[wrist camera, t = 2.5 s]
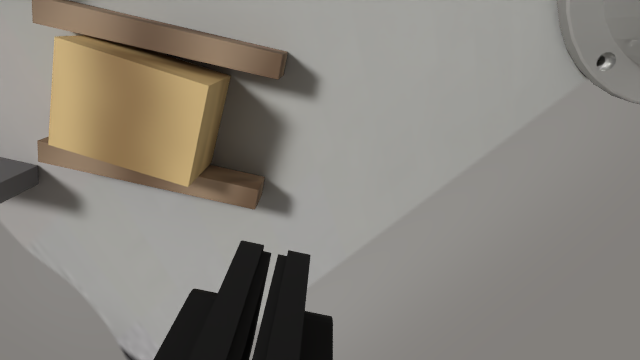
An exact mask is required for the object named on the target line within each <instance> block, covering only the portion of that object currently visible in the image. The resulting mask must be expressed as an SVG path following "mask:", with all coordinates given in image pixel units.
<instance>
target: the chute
mask: <svg viewBox="0 0 640 360" xmlns="http://www.w3.org/2000/svg"><path fill="white" fill-rule="evenodd" d="M32 15H33V23H36V24H41V25H45V26H49V27H54V28H58V29H62V30H67V31H71V32H75V33H79V34H84V35H88V36H92V37H97V38H101V39H105V40H110V41H114V42H118V43H123V44H127V45H131V46H135V47H140V48H144V49H148V50H153V51H157V52H161V53H166V54H170V55H174V56H178V57H183V58H187V59H191V60H196V61H200V62H204V63H209V64H213V65H217V66H222V67H226V68H230V69H234V70H239V71H243V72H247V73H252V74H256V75H260V76H265V77H269V78H273V79H277V80H278V79H279V78H281V77H282V76H283V75H284V70H285V64H286V59H287V53H288V52H286V51H281V50H277V49H273V48H269V47H264V46H260V45H256V44H252V43H247V42H243V41H239V40H235V39H230V38H226V37H222V36H218V35H213V34H209V33H205V32H201V31H196V30H192V29H188V28H184V27H179V26H175V25H171V24H166V23H162V22H158V21H154V20H149V19H145V18H141V17H137V16H132V15H128V14H124V13H120V12H115V11H111V10H107V9H103V8H98V7H94V6H90V5H86V4H81V3H77V2H73V1H69V0H32ZM48 141H49V137H46V138H43V139H41V140H38V162H42V163H47V164H52V165H56V166H61V167H65V168H70V169H74V170H79V171H83V172H88V173H92V174H97V175H101V176H106V177H110V178H115V179H119V180H124V181H128V182H133V183H137V184H142V185H146V186H151V187H155V188H160V189H165V190H169V191H174V192H178V193H183V194H187V195H192V196H196V197H201V198H205V199H210V200H214V201H219V202H223V203H228V204H232V205H237V206H241V207H246V208H250V209H255V208H256V206H257V204H258V202H259V200H260V197H261V195H262V190H263V185H264V179H265V177H263V176H258V175H254V174H249V173H245V172H240V171H236V170H231V169H227V168H222V167H218V166H214V165H209V166H208V167H207V168H206V169H205V170H204V171H203V172H202V173H201V174H200V175H199V176H198V177H197V178H196V179H195V180H194V181H193V182H192V184H191V185H190V186H189V187H186V186H183V185H179V184H176V183H173V182H170V181H166V180H163V179H160V178H156V177H153V176H150V175H146V174H143V173H140V172H136V171H133V170H130V169H127V168H123V167H120V166H117V165H113V164H110V163H107V162H103V161H100V160H97V159H94V158H90V157H87V156H84V155H80V154H77V153H74V152H70V151H67V150H64V149H61V148H57V147H54V146H51V145H48Z"/></svg>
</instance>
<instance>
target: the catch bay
mask: <svg viewBox="0 0 640 360" xmlns="http://www.w3.org/2000/svg"><path fill="white" fill-rule="evenodd" d="M37 184H38V166H37V165H33V164H28V163H24V162H19V161H15V160H10V159H6V158H1V157H0V203H2V202H4V201H6V200H8V199H10V198H12V197H14V196H16V195H18V194H19V193H21V192H23V191H25V190H27V189H29V188H31V187H33V186H35V185H37Z"/></svg>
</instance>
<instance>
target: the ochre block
mask: <svg viewBox="0 0 640 360" xmlns="http://www.w3.org/2000/svg"><path fill="white" fill-rule="evenodd" d="M230 77H231V76H230V75H227V74H224V73H221V72H217V71H214V70H211V69H208V68H205V67H202V66H199V65H196V64H193V63H189V62H186V61H183V60H180V59H177V58H174V57H171V56H168V55H165V54H161V53H158V52H155V51H152V50H148V49H144V48H140V47H135V46H131V45H127V44H123V43H118V42H114V41H110V40H105V39H101V38H97V37H92V36H88V35H82V36H59V37H55V39H54V56H53V73H52V90H51V107H50V124H49V141H48V145H51V146H54V147H57V148H61V149H64V150H67V151H70V152H74V153H77V154H80V155H84V156H87V157H90V158H94V159H97V160H100V161H103V162H107V163H110V164H113V165H117V166H120V167H123V168H127V169H130V170H133V171H136V172H140V173H143V174H146V175H150V176H153V177H156V178H160V179H163V180H166V181H170V182H173V183H176V184H179V185H183V186H186V187H189V186H190V185H191V184H192V182H193V181H194V180H195V179H196V178H197V177H198V176H199V175H200V174H201V173H202V172H203V171H204V170H205V169H206V168H207V167H208V166H209V165H210V164H211V162H212V158H213V153H214V149H215V144H216V140H217V135H218V131H219V126H220V122H221V117H222V113H223V108H224V104H225V99H226V95H227V90H228V86H229V81H230Z"/></svg>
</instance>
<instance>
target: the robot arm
mask: <svg viewBox="0 0 640 360" xmlns="http://www.w3.org/2000/svg"><path fill="white" fill-rule="evenodd" d="M557 6H558V16H559V26H560V29H561V32H562V35H563V39H564V42H565V45H566V48H567V50H568V52H569V53H570V55H571V57H572V59H573V60H574V62H575V64H576V65H577V67H578V68H579V69H580V71H581V72H582V73H583V74H584V75H585V76H586V77H587V78H588V79H589V80H590V81H591V82H592V83H593V84H595V85H596V86H598V87H599V88H601V89H603V90H604V91H606V92H607V93H609V94H610V95H612V96H615V97H618V98H621V99H624V100H627V101H629V102H633V103H637V104H640V0H557ZM599 57H600V61H599V63H598V64H597V60H598V58H599ZM263 249H264V245H261V244H256V243H251V242H246V241H241V242H240V244H239V247H238V249H237V251H236V253H235V256H234V258H233V260H232V263H231V265H230V267H229V269H228V272H227V274H226V276H225V278H224V281H223V283H222V285H221V288H220V290H219V292H218V293H214V292H209V291H204V290H199V289H193V290H192V291H191V292H190V294H189V296H188V298H187V299H186V301H185V303H184V305H183V307H182V309H181V310H180V312H179V314H178V316H177V318H176V320H175V321H174V323H173V325H172V327H171V329H170V331H169V332H168V334H167V336H166V338H165V340H164V342H163V343H162V345H161V347H160V349H159V351H158V352H157V354H156V356H155V358H154V360H249V357H250V353H251V349H252V345H253V340H254V335H255V330H256V326H257V321H258V316H259V311H260V306H261V301H262V296H263V291H264V287H265V282H266V277H267V272H268V267H269V262H270V257H271V253H269V252H264V251H263ZM309 264H310V255H308V254H304V253H299V252H294V251H289V250H288V254H287V256H284V255H279V254H278V258H277V262H276V266H275V270H274V274H273V278H272V282H271V286H270V290H269V294H268V298H267V302H266V306H265V310H264V314H263V318H262V322H261V327H260V331H259V335H258V338H257V343H256V347H255V350H254V355H253V359H252V360H333V320H332V317H331V316H327V315H322V314H317V313H311V312H307V311H305V301H306V292H307V283H308V273H309Z"/></svg>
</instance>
